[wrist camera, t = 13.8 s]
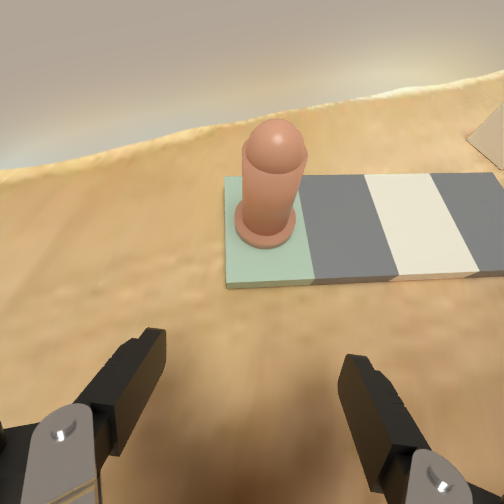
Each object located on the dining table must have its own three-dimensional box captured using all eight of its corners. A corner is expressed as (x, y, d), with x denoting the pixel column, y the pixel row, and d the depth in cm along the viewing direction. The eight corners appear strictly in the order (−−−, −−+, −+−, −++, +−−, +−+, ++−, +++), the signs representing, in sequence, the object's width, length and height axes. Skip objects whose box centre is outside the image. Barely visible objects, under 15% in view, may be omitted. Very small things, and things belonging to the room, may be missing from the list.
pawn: (289, 199, 20) (318, 95, 13) (297, 248, 18) (337, 160, 10) (234, 200, 20) (228, 95, 12) (235, 250, 18) (229, 161, 10)
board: (478, 183, 24) (492, 172, 23) (534, 274, 20) (556, 267, 19) (225, 187, 22) (224, 176, 21) (227, 288, 18) (226, 282, 17)
